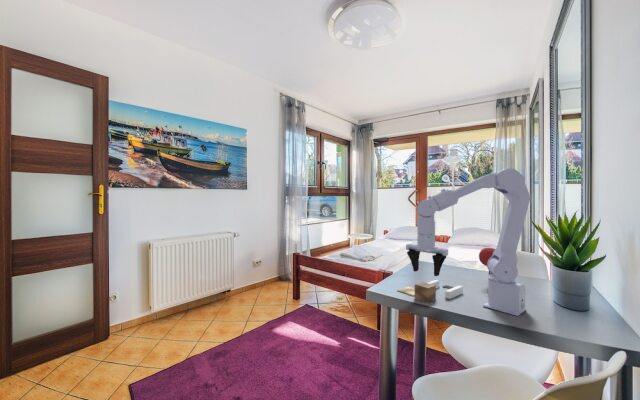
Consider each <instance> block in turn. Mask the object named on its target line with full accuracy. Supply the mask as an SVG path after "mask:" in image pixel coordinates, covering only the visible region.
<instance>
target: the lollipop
mask: <svg viewBox="0 0 640 400" xmlns="http://www.w3.org/2000/svg"><path fill="white" fill-rule="evenodd" d="M495 249H496V248H493V247H484V248H482V249H480V252H479V253H478V259H479V262H480V263H481V264H482V265H483V266H486V267H487V262H488V260H489V259H490V258H491V257H492V255H493V252H494V250H495ZM490 273H491V272H490V271H489V270H488V276H489V275H490Z"/></svg>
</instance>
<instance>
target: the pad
mask: <svg viewBox="0 0 640 400" xmlns="http://www.w3.org/2000/svg"><path fill="white" fill-rule="evenodd" d="M396 291H397V292H399V293H403V294H406V295H409V296H411V297H415V287H412V286H404V287H402V288H398V289H397V290H396Z"/></svg>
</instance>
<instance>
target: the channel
mask: <svg viewBox="0 0 640 400" xmlns="http://www.w3.org/2000/svg"><path fill="white" fill-rule="evenodd" d="M427 283H429V284H433V285H436V289H438V288H440V280H439V279H435V280H431V281H428V282H427ZM453 287H454V288H451V289H447V290H445V292H444V295H445V296H444V299H448V300H451V299H453V298H456V297H458V296H459V295H462V294H464V287H463V286H462V285H456V286H453Z"/></svg>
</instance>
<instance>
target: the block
mask: <svg viewBox="0 0 640 400" xmlns="http://www.w3.org/2000/svg"><path fill="white" fill-rule="evenodd" d="M414 288H415V296H414V299H415V300H418V301H421V302H424V303H427V304H429V303H431V302H434V301H436V300H437V296H436V295H437V291H436V290H437V288H436V285H433V284H429V283H428V282H424V281H422V282H417V283H415V284H414Z"/></svg>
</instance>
